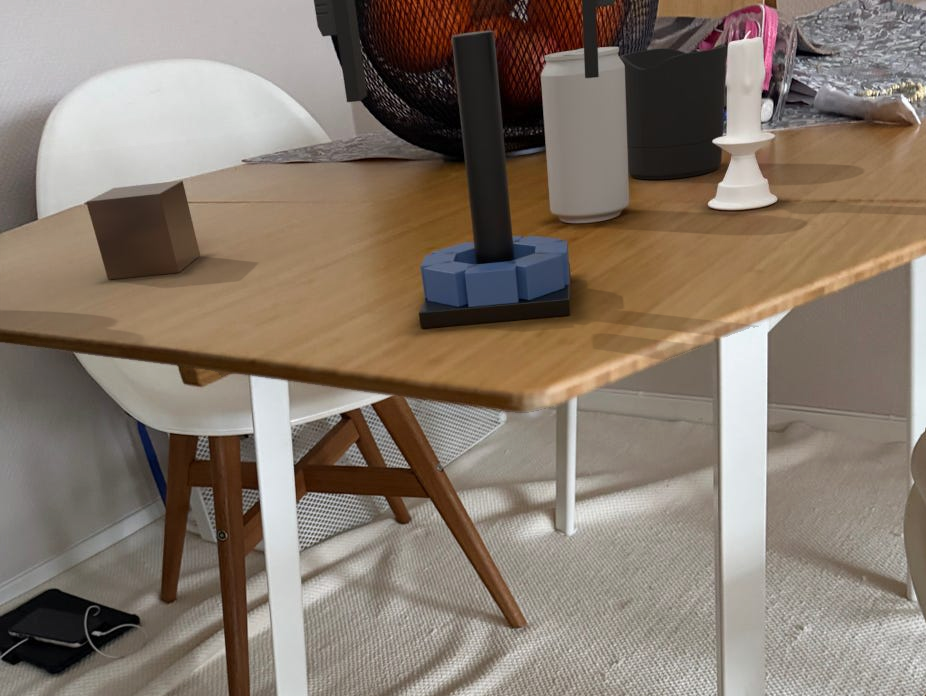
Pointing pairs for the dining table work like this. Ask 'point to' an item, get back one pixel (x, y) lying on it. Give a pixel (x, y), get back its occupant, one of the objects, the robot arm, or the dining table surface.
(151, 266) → the brown matte cube
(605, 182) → the beverage can
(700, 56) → the pen holder
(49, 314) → the dining table surface
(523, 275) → the ring
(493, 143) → the post stand
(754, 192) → the candle
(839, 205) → the dining table surface
